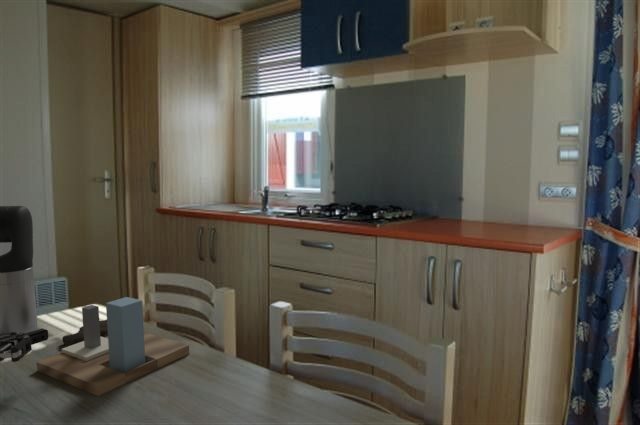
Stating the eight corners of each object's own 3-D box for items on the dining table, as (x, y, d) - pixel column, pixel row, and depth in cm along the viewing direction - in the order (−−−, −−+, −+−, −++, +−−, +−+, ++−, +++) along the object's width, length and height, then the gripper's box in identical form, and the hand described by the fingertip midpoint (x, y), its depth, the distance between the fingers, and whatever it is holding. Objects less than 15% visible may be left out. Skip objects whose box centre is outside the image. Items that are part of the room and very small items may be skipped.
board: (37, 373, 103) (36, 361, 102) (130, 338, 122) (129, 328, 122) (98, 398, 92) (97, 385, 91) (189, 355, 111) (188, 345, 111)
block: (110, 372, 102) (105, 303, 100) (130, 363, 106) (126, 296, 104) (125, 377, 99) (121, 306, 97) (145, 368, 103) (142, 300, 101)
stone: (69, 351, 114) (68, 339, 114) (52, 339, 122) (51, 328, 121) (140, 333, 127) (140, 322, 127) (121, 323, 135) (120, 312, 134)
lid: (61, 352, 107) (58, 309, 106) (98, 339, 115) (96, 298, 113) (86, 361, 102) (83, 316, 101) (123, 346, 110) (120, 304, 109)
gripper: (-38, 351, 81) (63, 321, 95) (-72, 336, 87) (27, 310, 102) (-34, 394, 81) (66, 357, 96) (-68, 376, 88) (30, 344, 103)
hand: (46, 333), depth 99 cm, fingers closed
